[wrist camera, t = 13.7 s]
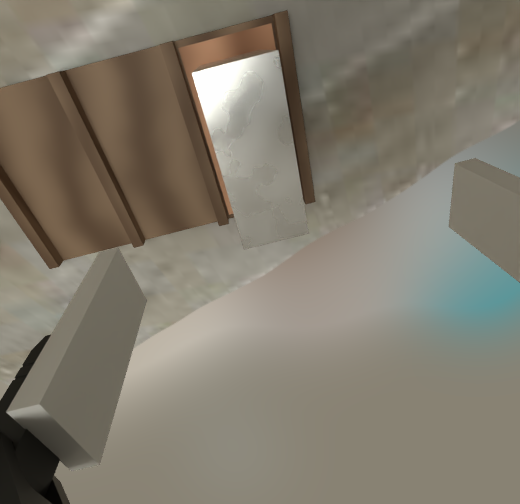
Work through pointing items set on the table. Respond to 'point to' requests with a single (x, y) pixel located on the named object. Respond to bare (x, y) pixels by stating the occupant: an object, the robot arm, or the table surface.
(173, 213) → the rack
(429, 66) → the table surface
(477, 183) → the robot arm
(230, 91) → the gray rectangular block
